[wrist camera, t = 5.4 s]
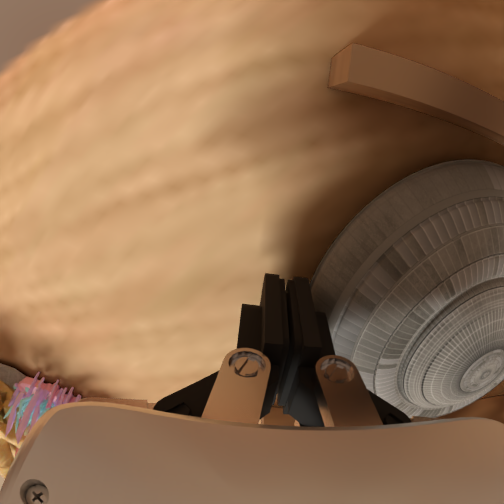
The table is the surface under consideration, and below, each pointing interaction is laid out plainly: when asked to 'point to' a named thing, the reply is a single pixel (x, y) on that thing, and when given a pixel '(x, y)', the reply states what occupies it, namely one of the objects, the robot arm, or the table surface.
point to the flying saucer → (422, 288)
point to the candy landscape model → (24, 409)
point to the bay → (429, 102)
